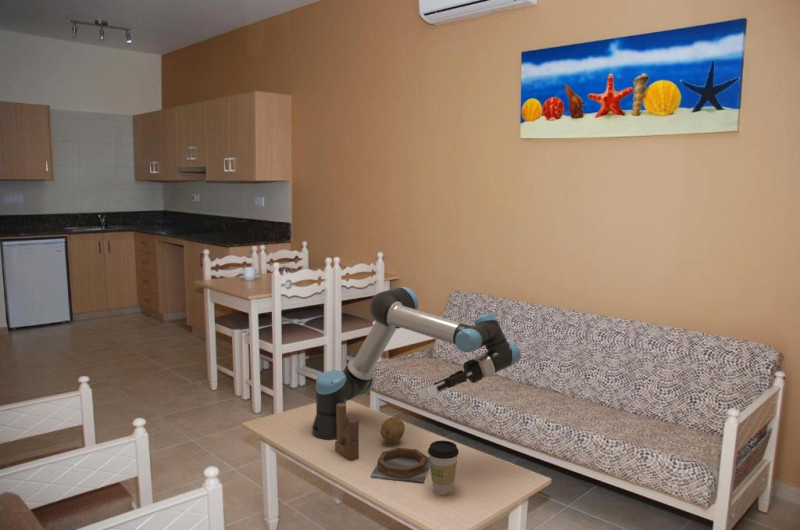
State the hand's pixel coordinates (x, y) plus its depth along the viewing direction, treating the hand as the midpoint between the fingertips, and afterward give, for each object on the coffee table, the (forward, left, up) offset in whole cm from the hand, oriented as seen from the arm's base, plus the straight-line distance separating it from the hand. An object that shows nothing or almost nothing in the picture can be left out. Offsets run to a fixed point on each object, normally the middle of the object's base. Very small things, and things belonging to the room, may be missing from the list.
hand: (422, 394), depth 200 cm
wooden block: (-11, -30, -29) cm, 43 cm away
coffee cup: (+7, +8, -29) cm, 31 cm away
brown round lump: (-24, -16, -29) cm, 41 cm away
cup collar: (-5, -8, -29) cm, 30 cm away
